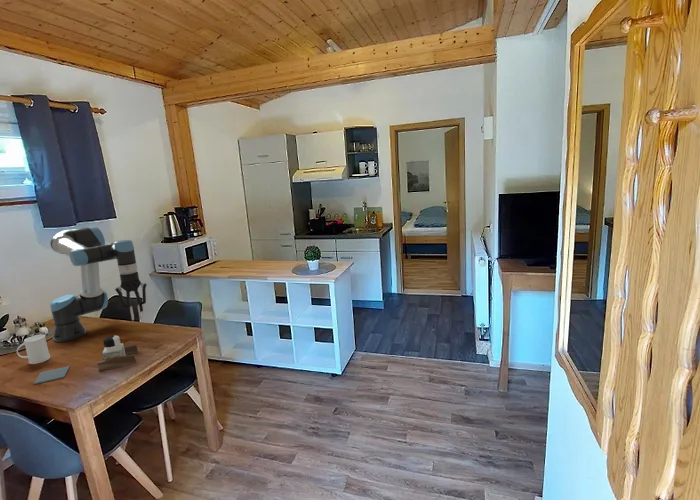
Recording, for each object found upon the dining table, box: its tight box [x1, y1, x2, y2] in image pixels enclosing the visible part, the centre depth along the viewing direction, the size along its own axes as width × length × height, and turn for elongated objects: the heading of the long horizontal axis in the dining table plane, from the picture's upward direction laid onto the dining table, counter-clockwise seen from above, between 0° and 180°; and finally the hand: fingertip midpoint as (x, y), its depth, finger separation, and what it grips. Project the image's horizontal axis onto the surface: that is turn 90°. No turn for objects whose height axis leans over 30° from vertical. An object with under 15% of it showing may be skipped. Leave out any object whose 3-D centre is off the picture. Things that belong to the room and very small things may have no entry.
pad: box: [33, 365, 71, 386], centre depth 170 cm, size 11×11×1 cm
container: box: [101, 335, 127, 361], centre depth 179 cm, size 8×8×13 cm
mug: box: [16, 334, 51, 365], centre depth 185 cm, size 12×8×12 cm
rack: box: [96, 343, 139, 372], centre depth 181 cm, size 14×15×4 cm
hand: (137, 318), depth 182 cm, fingers open, 3 cm apart
